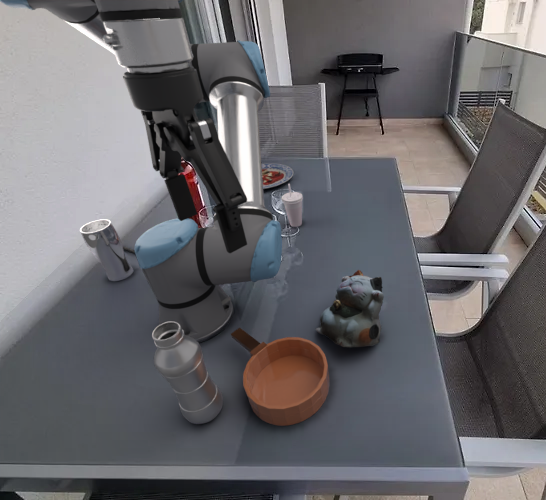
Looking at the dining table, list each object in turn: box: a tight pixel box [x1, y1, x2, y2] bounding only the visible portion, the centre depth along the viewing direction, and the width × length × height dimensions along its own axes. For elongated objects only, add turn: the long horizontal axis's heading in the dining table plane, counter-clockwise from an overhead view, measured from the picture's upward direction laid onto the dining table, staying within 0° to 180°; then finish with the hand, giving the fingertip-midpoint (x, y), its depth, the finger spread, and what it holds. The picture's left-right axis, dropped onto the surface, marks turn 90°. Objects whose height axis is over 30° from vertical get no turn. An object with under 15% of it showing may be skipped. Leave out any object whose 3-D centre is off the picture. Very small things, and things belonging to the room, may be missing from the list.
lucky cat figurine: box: [315, 269, 385, 348], centre depth 71 cm, size 15×12×14 cm
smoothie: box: [281, 183, 304, 228], centre depth 107 cm, size 6×6×14 cm
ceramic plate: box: [261, 163, 294, 190], centre depth 140 cm, size 26×26×3 cm
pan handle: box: [230, 327, 268, 358], centre depth 67 cm, size 8×3×3 cm, turn 50°
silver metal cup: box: [79, 218, 134, 282], centre depth 89 cm, size 7×7×15 cm
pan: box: [242, 336, 331, 427], centre depth 62 cm, size 14×14×5 cm
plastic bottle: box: [151, 321, 224, 425], centre depth 54 cm, size 6×7×20 cm
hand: (211, 231), depth 50 cm, fingers open, 13 cm apart
